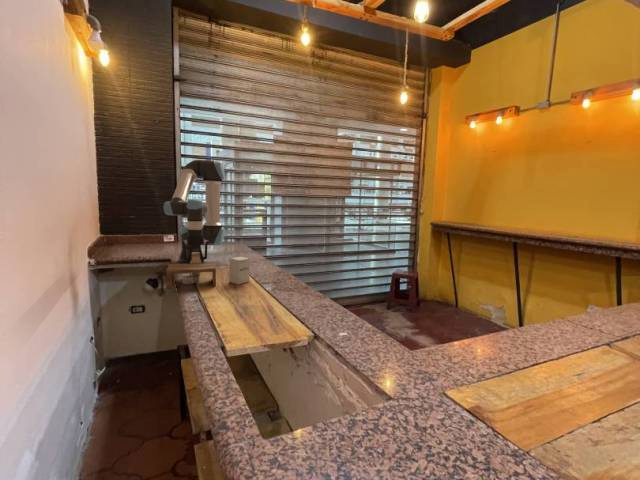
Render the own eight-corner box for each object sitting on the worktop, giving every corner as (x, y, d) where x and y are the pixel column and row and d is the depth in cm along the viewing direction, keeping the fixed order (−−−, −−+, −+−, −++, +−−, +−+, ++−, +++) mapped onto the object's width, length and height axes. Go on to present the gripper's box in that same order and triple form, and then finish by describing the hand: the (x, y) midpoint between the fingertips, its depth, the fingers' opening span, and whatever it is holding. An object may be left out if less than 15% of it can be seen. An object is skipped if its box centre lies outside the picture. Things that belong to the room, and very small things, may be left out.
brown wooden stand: (169, 281, 169) (169, 264, 168) (214, 279, 176) (214, 262, 175) (166, 289, 156) (166, 270, 155) (215, 286, 163) (215, 268, 162)
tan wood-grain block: (192, 274, 180) (191, 252, 178) (200, 273, 181) (199, 252, 179) (191, 282, 164) (191, 259, 162) (200, 282, 165) (199, 258, 164)
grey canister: (238, 284, 168) (238, 260, 166) (229, 281, 172) (229, 258, 170) (249, 281, 174) (249, 258, 172) (240, 279, 178) (240, 256, 176)
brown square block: (182, 281, 170) (182, 275, 170) (193, 280, 172) (193, 275, 171) (182, 284, 165) (182, 278, 165) (193, 283, 167) (193, 277, 167)
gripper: (177, 229, 168) (178, 274, 172) (212, 229, 174) (213, 273, 178) (178, 228, 175) (179, 271, 179) (211, 227, 181) (212, 269, 185)
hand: (196, 271), depth 178 cm, fingers closed on tan wood-grain block, 4 cm apart
